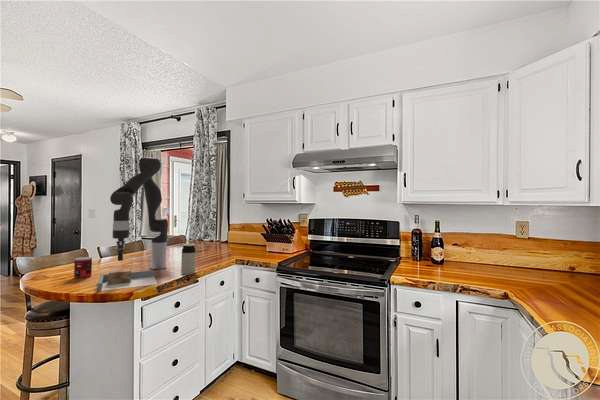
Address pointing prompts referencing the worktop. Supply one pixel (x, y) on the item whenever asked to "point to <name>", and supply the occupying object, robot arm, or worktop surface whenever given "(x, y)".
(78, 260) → the canned food
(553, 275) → the worktop surface
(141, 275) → the tray
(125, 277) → the walnut block
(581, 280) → the worktop surface
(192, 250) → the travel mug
